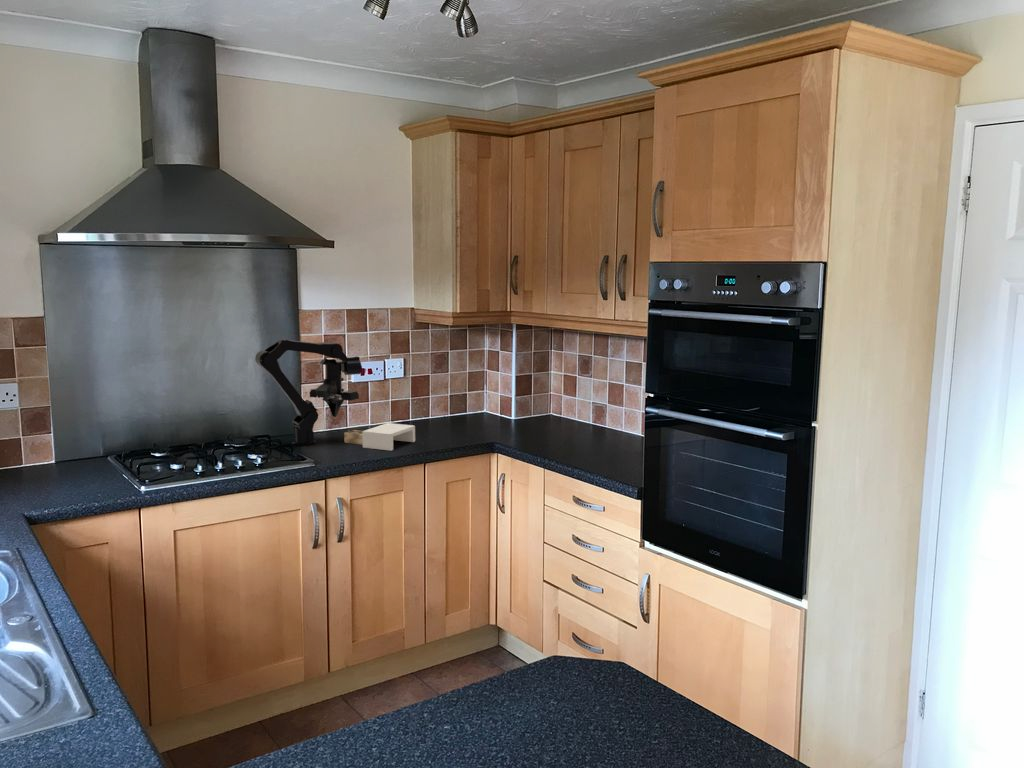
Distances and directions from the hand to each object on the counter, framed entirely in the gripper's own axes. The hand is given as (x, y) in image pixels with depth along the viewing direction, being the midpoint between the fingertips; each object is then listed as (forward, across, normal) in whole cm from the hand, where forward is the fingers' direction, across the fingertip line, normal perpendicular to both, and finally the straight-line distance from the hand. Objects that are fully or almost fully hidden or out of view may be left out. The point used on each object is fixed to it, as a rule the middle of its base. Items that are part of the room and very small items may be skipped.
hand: (334, 416), depth 314 cm
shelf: (+9, +23, +2) cm, 25 cm away
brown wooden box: (+9, +11, 0) cm, 14 cm away
